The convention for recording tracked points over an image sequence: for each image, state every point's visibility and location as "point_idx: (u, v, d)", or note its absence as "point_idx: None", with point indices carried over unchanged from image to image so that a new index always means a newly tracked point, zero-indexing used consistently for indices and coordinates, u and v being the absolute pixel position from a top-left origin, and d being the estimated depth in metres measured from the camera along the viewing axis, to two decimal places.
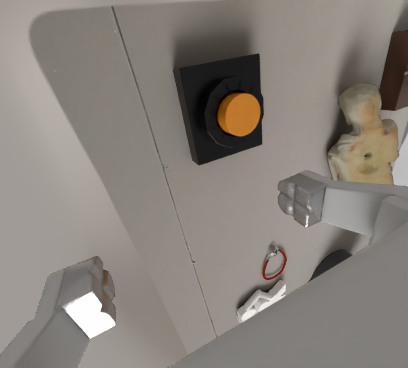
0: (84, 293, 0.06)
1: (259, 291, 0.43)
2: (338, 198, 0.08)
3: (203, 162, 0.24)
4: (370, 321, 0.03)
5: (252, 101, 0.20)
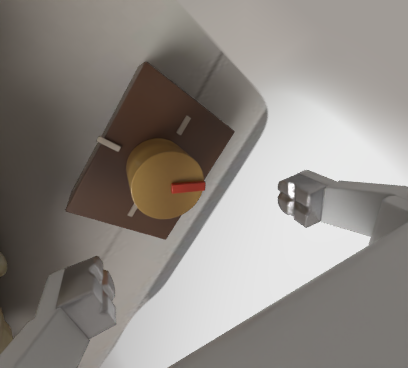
0: (84, 293, 0.06)
1: None
2: (338, 198, 0.08)
3: None
4: (370, 321, 0.03)
5: None
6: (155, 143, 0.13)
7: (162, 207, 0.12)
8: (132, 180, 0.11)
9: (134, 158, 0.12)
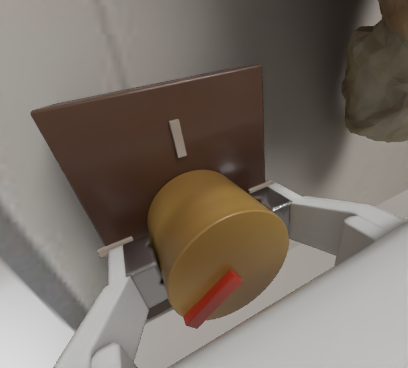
0: (149, 264, 0.06)
1: None
2: (303, 215, 0.07)
3: None
4: (370, 321, 0.03)
5: None
6: None
7: (222, 243, 0.06)
8: (286, 231, 0.07)
9: None
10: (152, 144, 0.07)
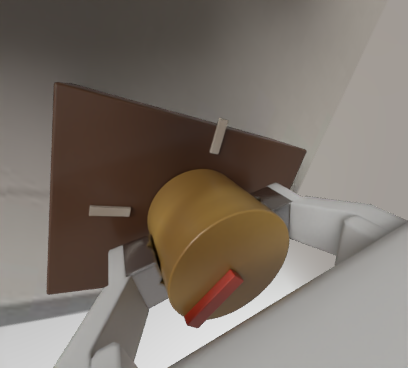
0: (149, 264, 0.06)
1: None
2: (303, 215, 0.07)
3: None
4: (370, 321, 0.03)
5: None
6: None
7: (223, 243, 0.06)
8: (287, 230, 0.07)
9: None
10: (106, 231, 0.08)
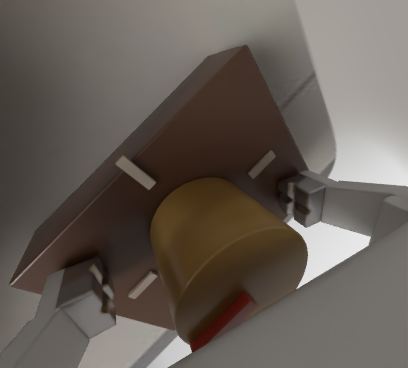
0: (84, 293, 0.06)
1: None
2: (338, 198, 0.08)
3: None
4: (370, 321, 0.03)
5: None
6: None
7: (238, 264, 0.05)
8: (306, 249, 0.06)
9: None
10: (157, 290, 0.09)
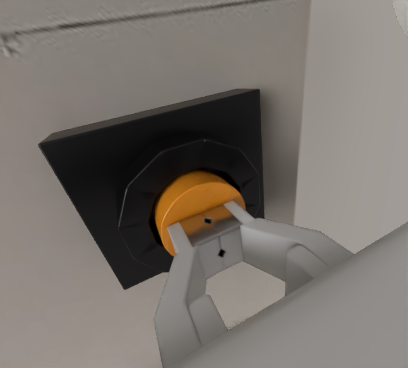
0: (211, 236, 0.07)
1: None
2: (253, 239, 0.07)
3: (52, 158, 0.08)
4: (370, 321, 0.03)
5: None
6: None
7: None
8: None
9: None
10: None
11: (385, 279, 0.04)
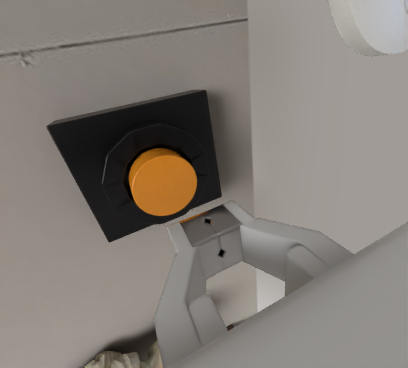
0: (211, 236, 0.07)
1: None
2: (253, 239, 0.07)
3: (55, 136, 0.12)
4: (370, 321, 0.03)
5: (187, 195, 0.13)
6: None
7: None
8: None
9: None
10: None
11: (385, 279, 0.04)
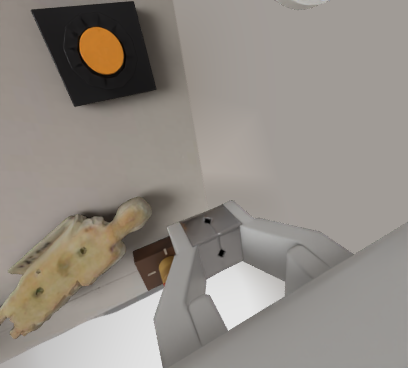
0: (211, 236, 0.07)
1: None
2: (253, 239, 0.07)
3: (36, 17, 0.20)
4: (370, 321, 0.03)
5: (117, 62, 0.21)
6: None
7: None
8: None
9: None
10: (152, 276, 0.38)
11: (385, 279, 0.04)
